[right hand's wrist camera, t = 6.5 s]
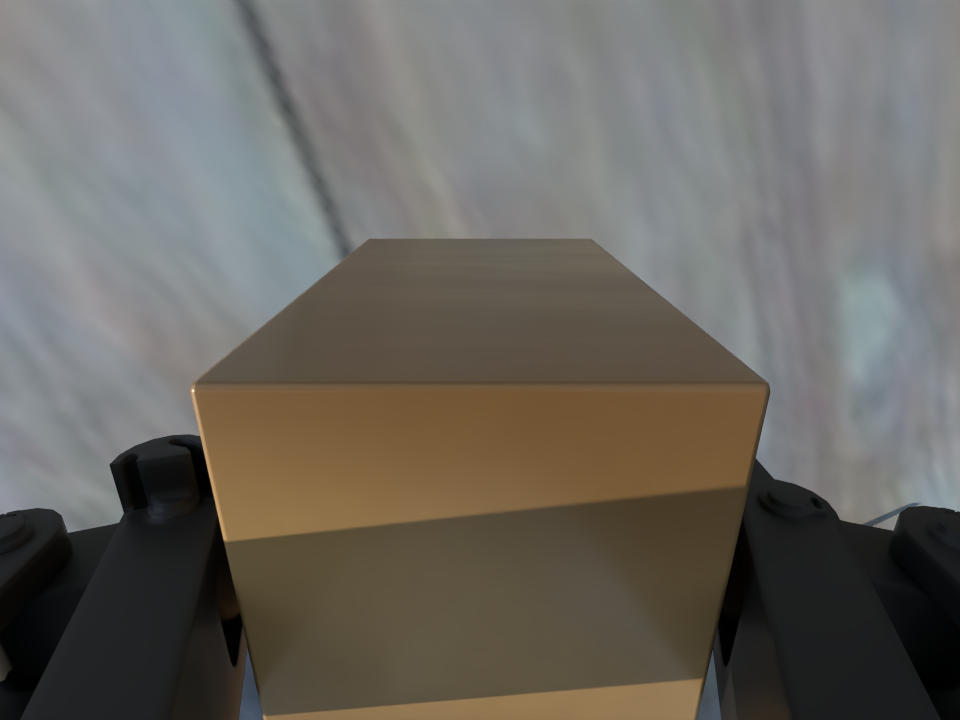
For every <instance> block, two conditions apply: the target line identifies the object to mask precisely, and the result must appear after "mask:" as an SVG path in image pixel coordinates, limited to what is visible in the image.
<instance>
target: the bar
mask: <svg viewBox="0 0 960 720" xmlns="http://www.w3.org/2000/svg"><path fill="white" fill-rule="evenodd" d="M769 395H770V386H769V384H768V382H766V381H765V380H764V379H763V378H761V377H760V376H759V375H758V374H757V373H755V372H754V371H753V370H752V369H750V368H749V367H748V366H747V365H745V364H744V363H743V362H742V361H741V360H739V359H738V358H737V357H736V356H734V355H733V354H732V353H731V352H730V351H728V350H727V349H726V348H725V347H723V346H722V345H721V344H720V343H718V342H717V341H716V340H715V339H714V338H712V337H711V336H710V335H709V334H707V333H706V332H705V331H704V330H702V329H701V328H700V327H699V326H698V325H696V324H695V323H694V322H693V321H691V320H690V319H689V318H688V317H687V316H685V315H684V314H683V313H682V312H680V311H679V310H678V309H677V308H675V307H674V306H673V305H672V304H671V303H669V302H668V301H667V300H666V299H664V298H663V297H662V296H661V295H660V294H658V293H657V292H656V291H655V290H653V289H652V288H651V287H650V286H648V285H647V284H646V283H645V282H644V281H642V280H641V279H640V278H639V277H637V276H636V275H635V274H634V273H633V272H631V271H630V270H629V269H628V268H626V267H625V266H624V265H623V264H621V263H620V262H619V261H618V260H617V259H615V258H614V257H613V256H612V255H610V254H609V253H608V252H607V251H605V250H604V249H603V248H602V247H601V246H599V245H598V244H597V243H596V242H594V241H593V240H591V239H369V240H367V241H366V242H365V243H363V244H362V245H361V246H360V247H359V248H357V249H356V250H355V251H354V252H352V253H351V254H350V255H349V256H347V257H346V258H345V259H344V260H343V261H341V262H340V263H339V264H338V265H336V266H335V267H334V268H333V269H332V270H330V271H329V272H328V273H327V274H325V275H324V276H323V277H322V278H321V279H319V280H318V281H317V282H316V283H314V284H313V285H312V286H311V287H310V288H308V289H307V290H306V291H305V292H303V293H302V294H301V295H300V296H299V297H297V298H296V299H295V300H294V301H292V302H291V303H290V304H289V305H287V306H286V307H285V308H284V309H283V310H281V311H280V312H279V313H278V314H276V315H275V316H274V317H273V318H272V319H270V320H269V321H268V322H267V323H265V324H264V325H263V326H262V327H261V328H259V329H258V330H257V331H256V332H254V333H253V334H252V335H251V336H250V337H248V338H247V339H246V340H245V341H243V342H242V343H241V344H240V345H238V346H237V347H236V348H235V349H234V350H232V351H231V352H230V353H229V354H227V355H226V356H225V357H224V358H223V359H221V360H220V361H219V362H218V363H216V364H215V365H214V366H213V367H212V368H210V369H209V370H208V371H207V372H205V373H204V374H203V375H202V376H201V377H199V378H198V379H197V380H196V381H194V382H193V383H192V386H191V396H192V401H193V405H194V410H195V414H196V419H197V423H198V428H199V432H200V437H201V441H202V446H203V450H204V455H205V459H206V463H207V468H208V472H209V477H210V481H211V486H212V490H213V495H214V499H215V504H216V508H217V513H218V517H219V522H220V526H221V531H222V535H223V539H224V544H225V548H226V553H227V557H228V562H229V566H230V571H231V575H232V580H233V584H234V589H235V593H236V598H237V602H238V607H239V611H240V616H241V620H242V624H243V629H244V633H245V638H246V642H247V647H248V651H249V656H250V660H251V665H252V669H253V674H254V678H255V683H256V687H257V692H258V696H259V701H260V705H261V709H262V714H263V718H264V720H697V716H698V712H699V708H700V703H701V699H702V694H703V690H704V685H705V681H706V676H707V672H708V667H709V663H710V658H711V654H712V650H713V645H714V641H715V636H716V632H717V627H718V623H719V618H720V614H721V609H722V605H723V601H724V596H725V592H726V587H727V583H728V578H729V574H730V569H731V565H732V560H733V556H734V551H735V547H736V543H737V538H738V534H739V529H740V525H741V520H742V516H743V511H744V507H745V502H746V498H747V494H748V489H749V485H750V480H751V476H752V471H753V467H754V462H755V458H756V453H757V449H758V444H759V440H760V436H761V431H762V427H763V422H764V418H765V413H766V409H767V404H768V400H769Z"/></svg>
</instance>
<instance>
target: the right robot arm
mask: <svg viewBox="0 0 960 720" xmlns="http://www.w3.org/2000/svg"><path fill="white" fill-rule="evenodd" d="M110 468H111V471H112V475H113V478H114V481H115V484H116V488H117V491H118V494H119V498H120V501H121V504H122V508H123V511H124V514H123V516H122V518H121V520H120V522H119V523H116V524H112V525H107V526H102V527H97V528H92V529H87V530H81V531H76V532H71V533H68V532H67V529H66V527H65V524H64V521H63V518H62V515H60V514H59V513H57V512H56V511H54V510H51V509H41V508H35V509H28V510H18V511H13V512H8V513H7V514H5V515H4V514H2V515H0V720H239V712H240V704H241V696H242V688H243V679H244V671H245V663H246V654H247V642H246V638H245V633H244V629H243V624H242V620H241V616H240V611H239V607H238V602H237V598H236V593H235V589H234V584H233V580H232V575H231V571H230V566H229V562H228V557H227V553H226V548H225V544H224V539H223V535H222V531H221V526H220V522H219V517H218V513H217V508H216V504H215V499H214V495H213V490H212V486H211V481H210V477H209V472H208V468H207V463H206V459H205V455H204V450H203V446H202V441H201V437H200V436H195V435H172V436H167V437H162V438H157V439H153V440H150V441H147V442H145V443H142V444H139V445H136V446H134V447H132V448H131V449H129V450H127V451H125V452H124V453H122V454H120V455H119V456H118V457H117V458H116V459H115V460H114V461H113V462H112V463H111V464H110ZM713 653H714V661H715V670H716V678H717V686H718V694H719V703H720V711H721V719H722V720H960V512H958V511H957V512H955V510H950V509H946V508H936V507H929V506H917V507H908V508H907V509H905V510H904V511H902V512H901V513H900V514H899V517H898V520H897V523H896V525H895V528H894V531H891V530H886V529H881V528H876V527H871V526H865V525H860V524H855V523H850V522H846V521H842V520H840V519H839V517H838V515H837V513H836V512H835V510H834V509H833V508H832V507H831V506H830V504H829V503H828V502H827V501H826V500H824V499H823V498H821V497H820V496H818V495H817V494H815V493H814V492H812V491H810V490H807V489H805V488H803V487H800V486H798V485H796V484H792V483H788V482H784V481H780V480H774V479H773V477H772V476H771V475H770V474H769V473H768V472H767V471H766V470H765V468H764V467H763V466H762V465H761V464H760V463H759V462H758V461H757V459H756V458H755V462H754V467H753V471H752V476H751V480H750V485H749V489H748V494H747V498H746V502H745V507H744V511H743V516H742V520H741V525H740V529H739V534H738V538H737V543H736V547H735V551H734V556H733V560H732V565H731V569H730V574H729V578H728V583H727V587H726V592H725V596H724V601H723V605H722V609H721V614H720V618H719V623H718V627H717V632H716V636H715V641H714V645H713Z"/></svg>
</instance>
